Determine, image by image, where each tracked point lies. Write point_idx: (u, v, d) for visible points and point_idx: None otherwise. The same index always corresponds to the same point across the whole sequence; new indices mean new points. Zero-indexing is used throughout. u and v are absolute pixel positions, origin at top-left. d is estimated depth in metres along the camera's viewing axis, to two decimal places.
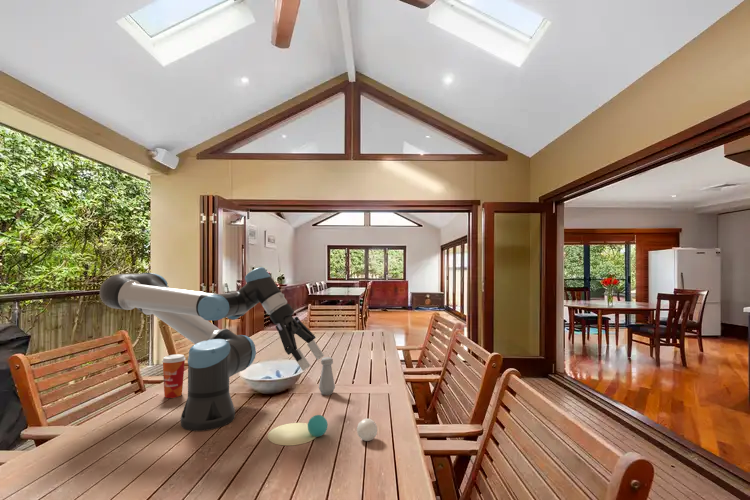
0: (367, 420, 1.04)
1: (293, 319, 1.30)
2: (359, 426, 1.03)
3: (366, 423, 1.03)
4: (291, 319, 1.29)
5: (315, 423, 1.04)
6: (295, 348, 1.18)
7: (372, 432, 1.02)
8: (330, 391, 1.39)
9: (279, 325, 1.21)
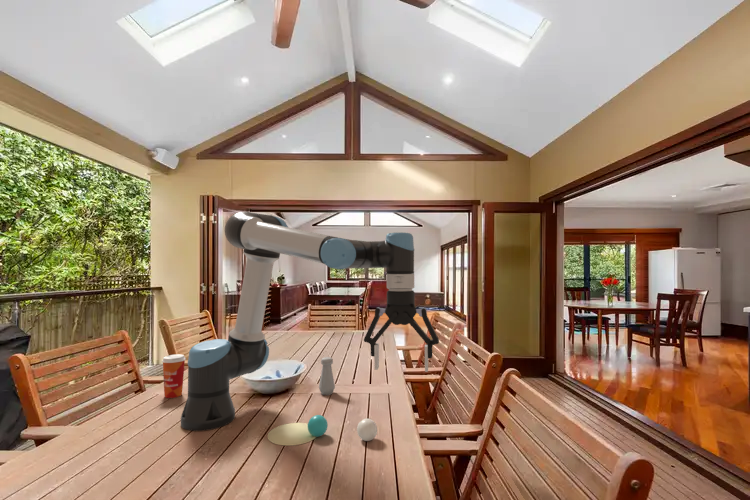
0: (367, 420, 1.04)
1: (411, 310, 1.02)
2: (359, 426, 1.03)
3: (366, 423, 1.03)
4: (405, 309, 1.03)
5: (315, 423, 1.04)
6: (370, 343, 1.04)
7: (372, 432, 1.02)
8: (330, 391, 1.39)
9: None
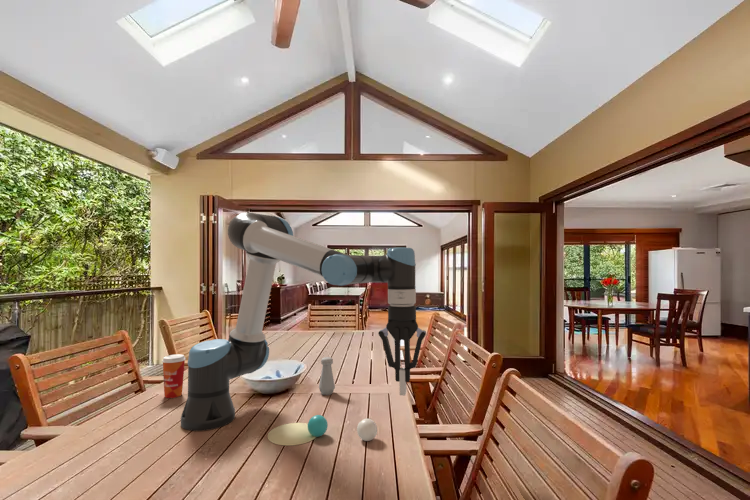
0: (367, 420, 1.04)
1: (413, 325, 1.02)
2: (359, 426, 1.03)
3: (366, 423, 1.03)
4: (410, 321, 1.02)
5: (315, 423, 1.04)
6: (396, 369, 1.02)
7: (372, 432, 1.02)
8: (330, 391, 1.39)
9: None
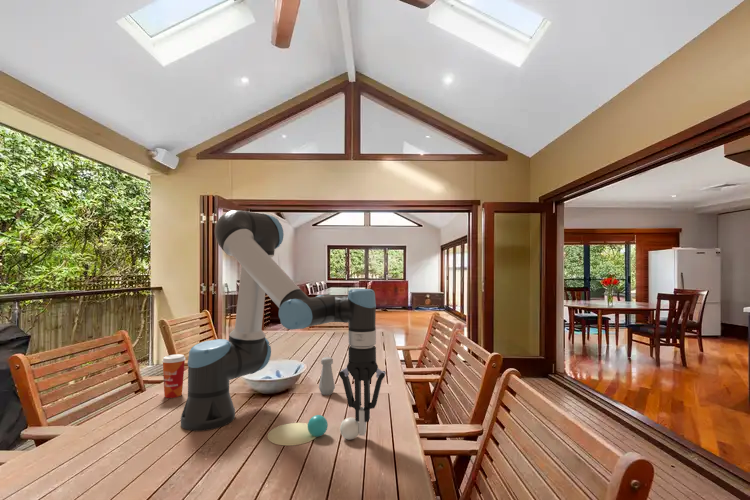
0: (342, 422, 1.05)
1: (372, 367, 1.04)
2: None
3: (342, 424, 1.04)
4: (369, 362, 1.04)
5: (315, 423, 1.04)
6: (356, 409, 1.04)
7: (351, 426, 1.03)
8: (330, 391, 1.39)
9: None
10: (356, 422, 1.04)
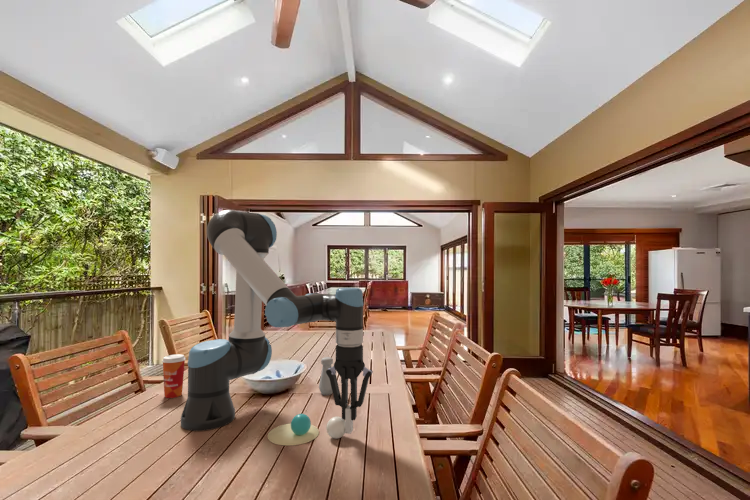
0: None
1: (359, 365, 1.04)
2: None
3: None
4: (356, 361, 1.04)
5: (292, 427, 1.06)
6: (342, 408, 1.04)
7: (330, 424, 1.04)
8: (330, 391, 1.39)
9: None
10: (332, 418, 1.05)
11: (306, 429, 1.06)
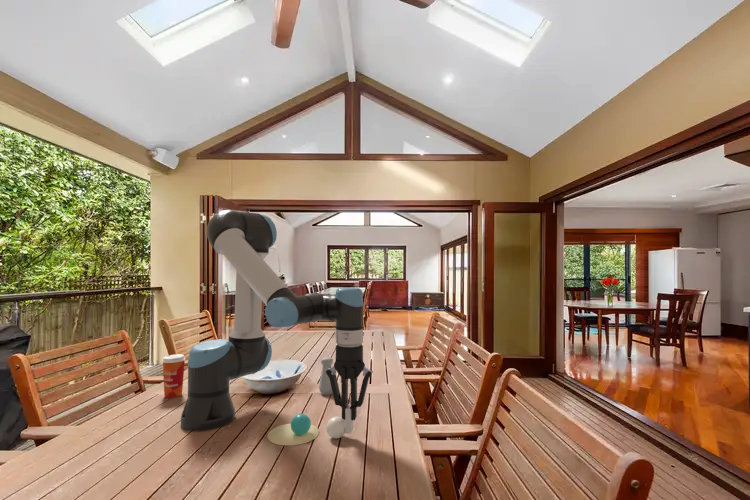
0: None
1: (359, 365, 1.04)
2: None
3: None
4: (356, 361, 1.04)
5: (292, 427, 1.06)
6: (342, 408, 1.04)
7: (330, 424, 1.04)
8: (330, 391, 1.39)
9: None
10: (332, 418, 1.05)
11: (306, 429, 1.06)
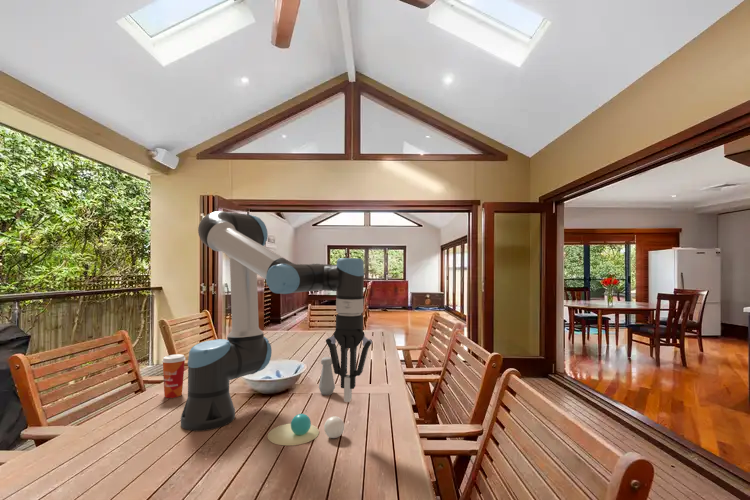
0: None
1: (359, 334, 1.04)
2: None
3: (326, 434, 1.04)
4: (356, 330, 1.05)
5: (292, 427, 1.06)
6: (341, 376, 1.05)
7: (327, 425, 1.04)
8: (330, 391, 1.39)
9: None
10: (328, 419, 1.06)
11: (306, 429, 1.06)
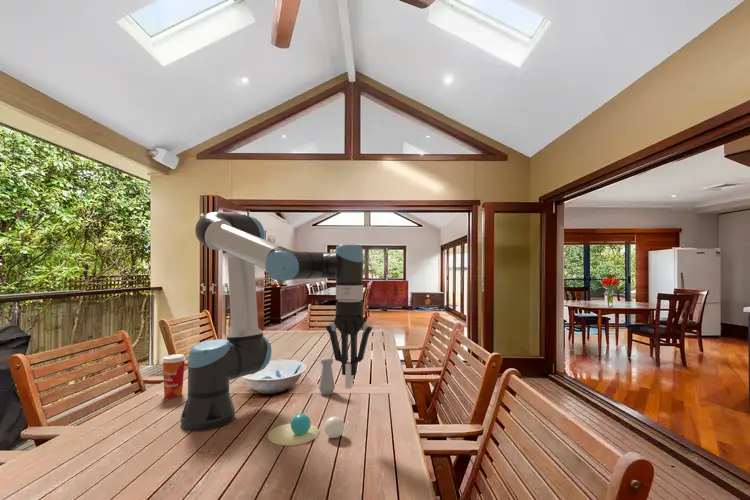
0: None
1: (359, 320, 1.04)
2: None
3: (326, 434, 1.04)
4: (356, 316, 1.05)
5: (292, 427, 1.06)
6: (342, 363, 1.05)
7: (327, 425, 1.04)
8: (330, 391, 1.39)
9: None
10: (328, 419, 1.06)
11: (306, 429, 1.06)
